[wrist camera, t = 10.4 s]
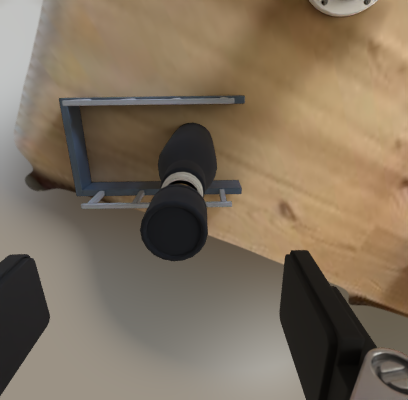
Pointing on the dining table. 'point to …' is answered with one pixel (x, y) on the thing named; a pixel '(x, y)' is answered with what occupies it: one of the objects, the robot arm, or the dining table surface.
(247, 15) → the dining table surface
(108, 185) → the dish rack
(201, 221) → the dark blue bottle
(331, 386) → the robot arm
